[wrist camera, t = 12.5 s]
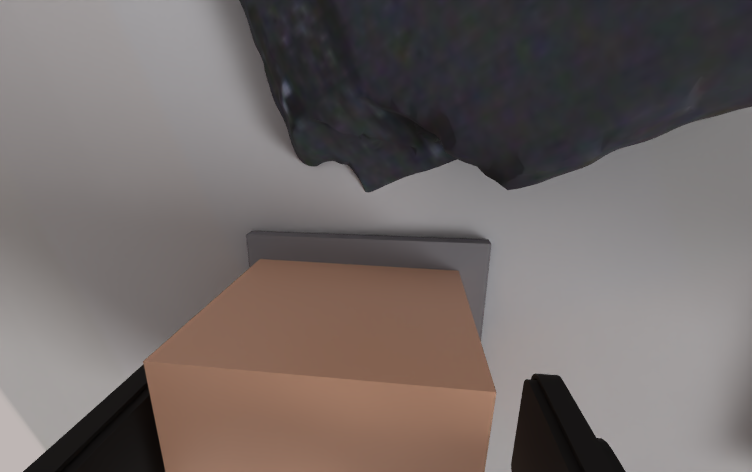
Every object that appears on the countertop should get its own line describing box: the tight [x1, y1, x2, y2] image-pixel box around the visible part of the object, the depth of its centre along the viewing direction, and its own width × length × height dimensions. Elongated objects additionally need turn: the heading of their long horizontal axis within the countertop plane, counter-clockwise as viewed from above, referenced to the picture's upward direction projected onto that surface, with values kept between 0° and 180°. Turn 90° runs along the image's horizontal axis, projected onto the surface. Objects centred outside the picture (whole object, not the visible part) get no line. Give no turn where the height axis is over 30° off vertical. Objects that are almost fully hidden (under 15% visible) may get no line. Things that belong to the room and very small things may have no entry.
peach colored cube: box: [143, 259, 496, 472], centre depth 9 cm, size 6×6×5 cm
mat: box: [246, 231, 491, 341], centre depth 12 cm, size 8×7×1 cm
